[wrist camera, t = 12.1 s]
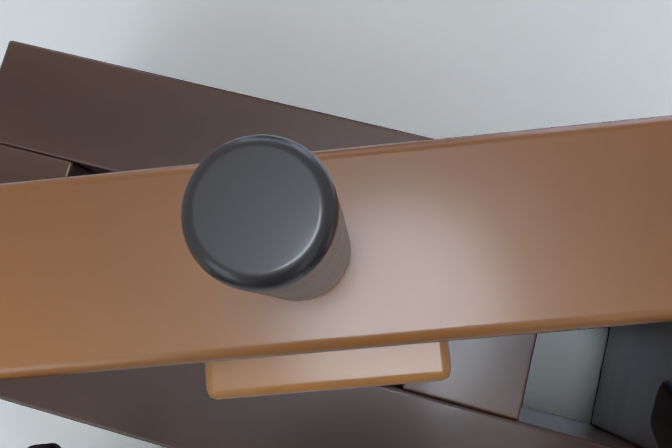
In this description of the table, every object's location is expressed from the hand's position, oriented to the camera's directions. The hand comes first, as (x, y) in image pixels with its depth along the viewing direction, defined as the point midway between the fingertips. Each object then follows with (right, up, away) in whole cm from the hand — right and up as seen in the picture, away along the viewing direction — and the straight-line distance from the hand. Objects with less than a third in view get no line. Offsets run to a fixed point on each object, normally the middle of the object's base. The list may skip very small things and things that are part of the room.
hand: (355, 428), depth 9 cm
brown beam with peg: (0, +1, +9) cm, 9 cm away
